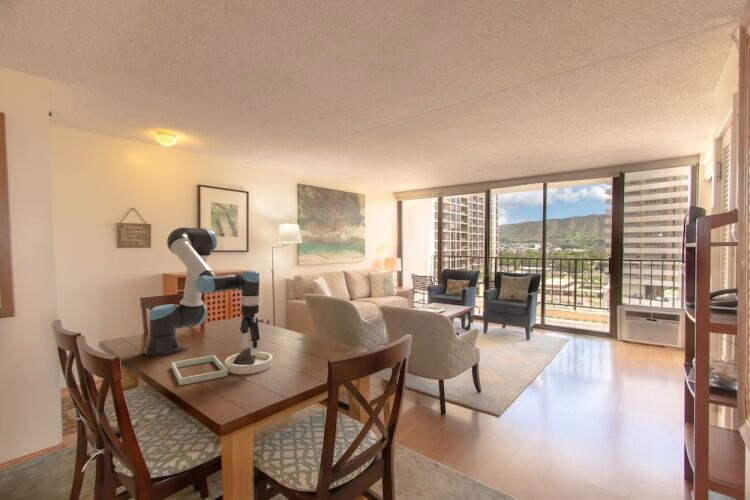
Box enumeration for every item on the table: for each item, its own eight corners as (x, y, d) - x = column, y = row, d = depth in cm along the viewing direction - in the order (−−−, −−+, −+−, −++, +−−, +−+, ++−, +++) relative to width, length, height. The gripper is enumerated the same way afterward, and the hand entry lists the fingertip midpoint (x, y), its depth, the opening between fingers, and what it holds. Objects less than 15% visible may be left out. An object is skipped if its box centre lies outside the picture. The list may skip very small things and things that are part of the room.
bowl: (220, 363, 159) (220, 356, 158) (263, 356, 171) (263, 349, 171) (232, 377, 143) (232, 369, 143) (278, 367, 155) (278, 360, 155)
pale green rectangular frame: (171, 367, 153) (171, 362, 152) (214, 360, 163) (214, 355, 163) (179, 385, 134) (180, 378, 134) (227, 375, 144) (227, 369, 144)
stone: (239, 377, 150) (256, 361, 151) (227, 362, 151) (244, 346, 152) (248, 372, 160) (264, 357, 161) (236, 358, 161) (252, 344, 162)
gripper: (234, 301, 164) (233, 345, 164) (250, 309, 144) (249, 359, 145) (249, 299, 169) (248, 342, 169) (268, 308, 149) (266, 356, 149)
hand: (249, 350), depth 157 cm, fingers open, 13 cm apart
